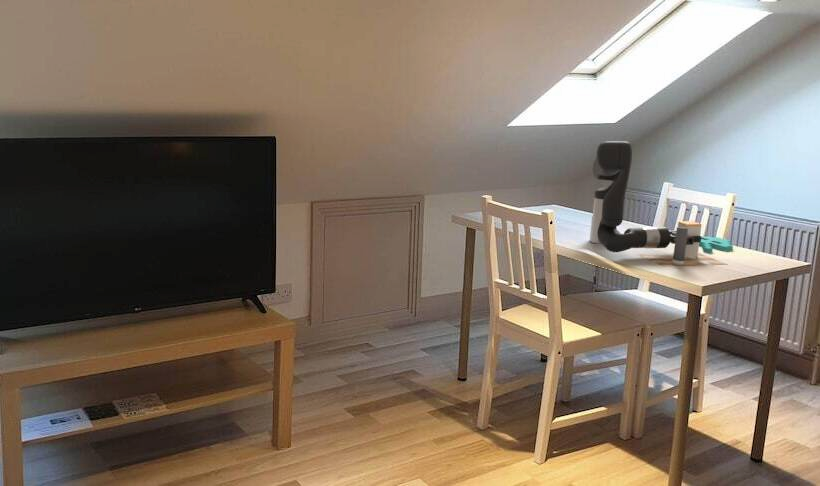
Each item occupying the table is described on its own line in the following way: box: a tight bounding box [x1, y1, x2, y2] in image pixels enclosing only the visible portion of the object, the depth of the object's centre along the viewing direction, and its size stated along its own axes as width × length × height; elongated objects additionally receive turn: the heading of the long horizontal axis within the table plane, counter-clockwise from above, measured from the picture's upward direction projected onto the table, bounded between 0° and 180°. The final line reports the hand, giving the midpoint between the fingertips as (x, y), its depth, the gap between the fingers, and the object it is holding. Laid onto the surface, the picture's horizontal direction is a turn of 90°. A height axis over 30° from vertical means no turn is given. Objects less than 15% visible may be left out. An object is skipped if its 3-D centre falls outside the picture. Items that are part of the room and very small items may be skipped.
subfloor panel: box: [636, 252, 729, 268], centre depth 285 cm, size 17×25×2 cm
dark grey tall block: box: [672, 226, 688, 267], centre depth 276 cm, size 4×4×12 cm
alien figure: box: [699, 235, 734, 254], centre depth 316 cm, size 20×2×20 cm
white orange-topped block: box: [677, 220, 702, 257], centre depth 290 cm, size 5×6×12 cm
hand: (694, 236), depth 290 cm, fingers open, 6 cm apart
